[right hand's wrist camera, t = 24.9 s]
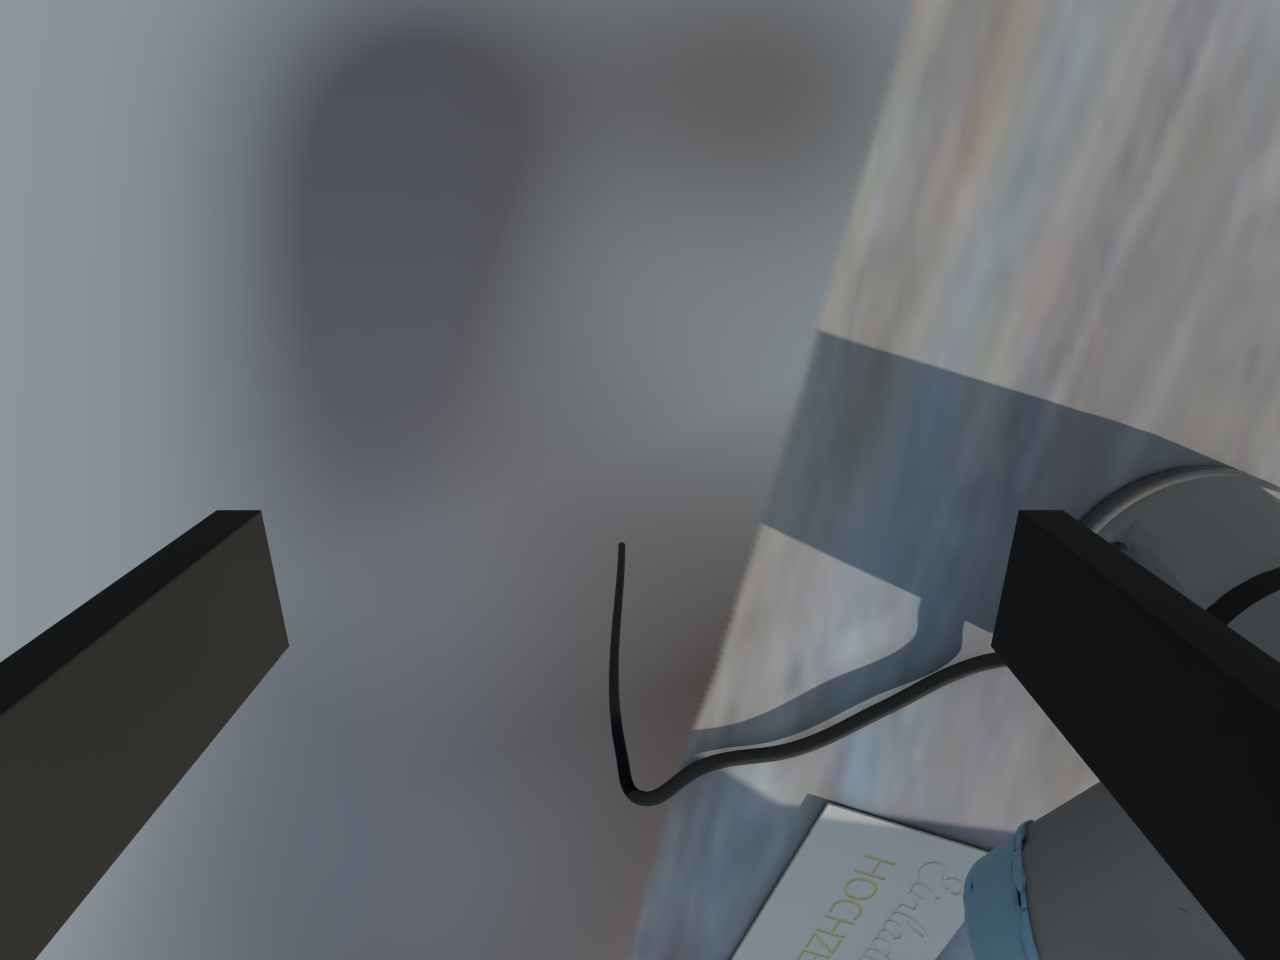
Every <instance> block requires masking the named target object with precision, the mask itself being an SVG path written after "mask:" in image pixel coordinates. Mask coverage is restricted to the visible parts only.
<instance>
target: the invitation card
mask: <svg viewBox="0 0 1280 960" xmlns="http://www.w3.org/2000/svg"><path fill="white" fill-rule="evenodd" d="M987 853H989V852H988V851H984V850H981V849H978V848H975V847H972V846H968V845H965V844H962V843H959V842H955V841H952V840H949V839H946V838H942V837H939V836H936V835H933V834H929V833H926V832H923V831H920V830H916V829H913V828H910V827H907V826H903V825H900V824H897V823H894V822H890V821H887V820H884V819H881V818H877V817H874V816H871V815H868V814H865V813H861V812H858V811H855V810H852V809H848V808H845V807H842V806H839V805H835V804H832V803H829V802H828V803H827V804H826V806H825V808H824V809H823V811H822V812H821V814H820V816H819V817H818V819H817V821H816V822H815V824H814V825H813V827H812V829H811V830H810V832H809V834H808V835H807V837H806V838H805V840H804V842H803V843H802V845H801V846H800V848H799V850H798V851H797V853H796V855H795V856H794V858H793V859H792V861H791V863H790V864H789V866H788V867H787V869H786V871H785V872H784V874H783V876H782V877H781V879H780V880H779V882H778V884H777V885H776V887H775V889H774V890H773V892H772V893H771V895H770V897H769V898H768V900H767V901H766V903H765V905H764V906H763V908H762V910H761V911H760V913H759V914H758V916H757V918H756V919H755V921H754V922H753V924H752V926H751V927H750V929H749V931H748V932H747V934H746V935H745V937H744V939H743V940H742V942H741V944H740V945H739V947H738V948H737V950H736V952H735V953H734V955H733V956H732V958H731V960H935V959H936V958H937V957H938V955H939V954H940V953H941V951H942V950H943V949H944V947H945V946H946V945H947V944H948V942H949V941H950V940H951V938H952V937H953V936H954V934H955V933H956V932H957V931H958V929H959V928H960V927H961V925H962V924H963V923H964V921H965V917H964V914H965V910H964V903H963V892H964V883H965V880H966V876H967V874H968V872H969V870H970V869H971V867H972V866H973V865H974V863H975V862H976V861H977V860H979V859H980V858H982V857H983V856H985V855H986V854H987Z"/></svg>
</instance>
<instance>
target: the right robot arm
mask: <svg viewBox="0 0 1280 960" xmlns="http://www.w3.org/2000/svg"><path fill="white" fill-rule="evenodd" d="M624 573H625V543H623V542H620V543H619V544H618V563H617V577H616V588H615V598H614V609H613V619H612V630H611V643H610V660H609V709H610V720H611V731H612V737H613V743H614V749H615V755H616V761H617V768H618V776H619V781H620V785H621V788H622V790H623V792H624V794H625V795H626V796H627V798H628V799H629V800H631V801H632V802H633V803H635V804H637V805H642V806H653V805H657V804H660V803H662V802H664V801H666V800H667V799H669V798H670V797H672V796H673V795H674V794H676V793H677V792H678V791H679V790H681V789H682V788H683V787H684V786H686V785H687V784H688V783H690V782H691V781H692V780H694V779H695V778H697V777H699V776H701V775H703V774H705V773H708V772H711V771H714V770H718V769H722V768H726V767H731V766H738V765H746V764H755V763H764V762H772V761H778V760H783V759H788V758H792V757H796V756H799V755H802V754H805V753H808V752H811V751H814V750H817V749H819V748H822V747H824V746H826V745H829V744H831V743H833V742H835V741H837V740H840V739H842V738H844V737H846V736H848V735H850V734H851V733H853V732H855V731H857V730H859V729H861V728H863V727H865V726H867V725H869V724H871V723H873V722H875V721H877V720H879V719H881V718H883V717H885V716H887V715H889V714H891V713H894V712H896V711H898V710H900V709H902V708H903V707H905V706H907V705H909V704H911V703H913V702H915V701H917V700H918V699H920V698H922V697H924V696H926V695H928V694H930V693H931V692H933V691H935V690H937V689H939V688H941V687H943V686H945V685H947V684H950V683H952V682H954V681H956V680H959V679H961V678H964V677H966V676H969V675H972V674H975V673H978V672H981V671H985V670H989V669H994V668H1000V667H1006V666H1008V668H1009V669H1010V670H1011V671H1012V673H1013V674H1014V675H1015V676H1016V678H1017V679H1018V680H1019V681H1020V683H1021V684H1022V685H1023V686H1024V687H1025V689H1026V690H1027V691H1028V692H1029V694H1030V695H1031V696H1032V697H1033V699H1034V700H1035V701H1036V702H1037V704H1038V705H1039V706H1040V707H1041V708H1042V710H1043V711H1044V712H1045V713H1046V715H1047V716H1048V717H1049V718H1050V720H1051V721H1052V722H1053V723H1054V724H1055V726H1056V727H1057V728H1058V729H1059V731H1060V732H1061V733H1062V734H1063V736H1064V737H1065V738H1066V739H1067V741H1068V742H1069V743H1070V744H1071V745H1072V747H1073V748H1074V749H1075V750H1076V752H1077V753H1078V754H1079V755H1080V757H1081V758H1082V759H1083V760H1084V762H1085V763H1086V764H1087V765H1088V766H1089V768H1090V769H1091V770H1092V771H1093V773H1094V774H1095V775H1096V776H1097V778H1098V779H1099V780H1100V782H1099V783H1097V784H1095V785H1094V786H1092V787H1090V788H1089V789H1087V790H1086V791H1084V792H1082V793H1081V794H1079V795H1077V796H1076V797H1074V798H1072V799H1071V800H1069V801H1068V802H1066V803H1064V804H1063V805H1061V806H1059V807H1058V808H1056V809H1054V810H1053V811H1051V812H1050V813H1048V814H1046V815H1045V816H1043V817H1041V818H1039V819H1038V820H1036V821H1033V820H1029V821H1026V822H1024V823H1023V824H1021V825H1020V826H1019V827H1018V829H1017V831H1016V833H1015V834H1014V835H1012V836H1011V837H1010V838H1008V839H1007V840H1005V841H1004V842H1003V843H1001V844H1000V845H998V846H997V847H996V848H994V849H993V850H991V851H990V852H989V853H987V854H986V855H985V856H983V857H982V858H980V859H979V860H977V861H976V862H975V863H974V865H973V866H972V867H971V869H970V870H969V872H968V874H967V876H966V880H965V883H964V892H963V903H964V910H965V914H964V917H965V923H966V928H967V933H968V937H969V940H970V944H971V948H972V951H973V954H974V958H975V960H1280V488H1279V487H1277V486H1276V485H1273V484H1271V483H1269V482H1266V481H1264V480H1262V479H1259V478H1257V477H1255V476H1252V475H1250V474H1247V473H1245V472H1242V471H1238V470H1235V469H1231V468H1225V467H1219V466H1191V467H1182V468H1177V469H1172V470H1167V471H1164V472H1160V473H1157V474H1154V475H1151V476H1149V477H1146V478H1143V479H1141V480H1139V481H1137V482H1134V483H1132V484H1130V485H1128V486H1127V487H1125V488H1123V489H1121V490H1119V491H1118V492H1116V493H1115V494H1113V495H1112V496H1110V497H1109V498H1107V499H1106V500H1104V501H1103V502H1102V503H1101V504H1099V505H1098V506H1097V507H1096V508H1094V509H1093V510H1092V511H1091V512H1090V513H1089V514H1088V515H1087V516H1086V517H1085V518H1084V519H1083V520H1082V521H1081V522H1079V521H1078V520H1076V519H1075V518H1073V517H1072V516H1070V515H1069V514H1068V513H1066V512H1065V511H1063V510H1019V513H1018V518H1017V522H1016V527H1015V532H1014V537H1013V542H1012V547H1011V551H1010V556H1009V561H1008V566H1007V571H1006V576H1005V580H1004V585H1003V590H1002V595H1001V600H1000V605H999V610H998V614H997V619H996V624H995V629H994V634H993V639H992V643H991V647H992V648H993V649H994V650H995V653H990V654H985V655H981V656H977V657H973V658H970V659H967V660H965V661H962V662H959V663H957V664H954V665H952V666H949V667H947V668H945V669H942V670H940V671H938V672H936V673H934V674H932V675H930V676H928V677H926V678H924V679H922V680H920V681H919V682H917V683H915V684H913V685H911V686H910V687H908V688H906V689H904V690H902V691H900V692H898V693H897V694H895V695H893V696H891V697H889V698H887V699H885V700H883V701H881V702H879V703H876V704H874V705H872V706H870V707H868V708H866V709H864V710H862V711H860V712H858V713H857V714H855V715H853V716H851V717H849V718H847V719H845V720H843V721H841V722H839V723H837V724H835V725H833V726H831V727H829V728H827V729H825V730H823V731H820V732H818V733H816V734H813V735H811V736H808V737H805V738H803V739H800V740H797V741H793V742H790V743H786V744H782V745H777V746H771V747H764V748H756V749H746V750H738V751H731V752H725V753H720V754H716V755H712V756H709V757H706V758H703V759H701V760H698V761H696V762H694V763H692V764H690V765H689V766H687V767H685V768H684V769H683V770H681V771H680V772H678V773H677V774H676V775H675V776H673V777H672V778H671V779H670V780H668V781H667V782H666V783H665V784H663V785H662V786H660V787H659V788H657V789H655V790H653V791H649V792H645V791H641V790H639V789H637V788H636V787H635V785H634V783H633V780H632V776H631V772H630V766H629V759H628V754H627V749H626V744H625V738H624V733H623V727H622V719H621V711H620V697H619V645H620V628H621V614H622V602H623V588H624ZM288 647H289V644H288V639H287V634H286V629H285V624H284V619H283V614H282V610H281V605H280V600H279V595H278V590H277V585H276V581H275V576H274V571H273V566H272V561H271V556H270V551H269V547H268V542H267V537H266V532H265V527H264V522H263V518H262V513H261V510H217V511H215V512H214V513H212V514H211V515H210V516H208V517H207V518H205V519H204V520H202V521H201V522H200V523H198V524H197V525H195V526H194V527H192V528H191V529H190V530H188V531H187V532H185V533H184V534H183V535H181V536H180V537H178V538H177V539H175V540H174V541H173V542H171V543H170V544H168V545H167V546H166V547H164V548H163V549H161V550H160V551H158V552H157V553H156V554H154V555H153V556H151V557H150V558H148V559H147V560H146V561H144V562H143V563H141V564H140V565H138V566H137V567H136V568H134V569H133V570H131V571H130V572H129V573H127V574H126V575H124V576H123V577H121V578H120V579H119V580H117V581H116V582H114V583H113V584H111V585H110V586H109V587H107V588H106V589H104V590H103V591H101V592H100V593H99V594H97V595H96V596H94V597H93V598H92V599H90V600H89V601H87V602H86V603H84V604H83V605H82V606H80V607H79V608H77V609H76V610H74V611H73V612H72V613H70V614H69V615H67V616H66V617H65V618H63V619H62V620H60V621H59V622H57V623H56V624H55V625H53V626H52V627H50V628H49V629H48V630H46V631H45V632H43V633H42V634H40V635H39V636H37V637H36V638H35V639H33V640H32V641H30V642H29V643H28V644H26V645H25V646H23V647H22V648H20V649H19V650H18V651H16V652H15V653H13V654H12V655H10V656H9V657H8V658H6V659H5V660H3V661H2V662H0V960H35V959H36V958H37V956H38V955H39V954H40V953H41V952H42V950H43V949H44V948H45V947H46V945H47V944H48V943H49V942H50V941H51V939H52V938H53V937H54V936H55V934H56V933H57V932H58V931H59V929H60V928H61V927H62V926H63V924H64V923H65V922H66V921H67V919H68V918H69V917H70V916H71V915H72V913H73V912H74V911H75V910H76V908H77V907H78V906H79V905H80V903H81V902H82V901H83V900H84V899H85V897H86V896H87V895H88V894H89V892H90V891H91V890H92V889H93V887H94V886H95V885H96V884H97V882H98V881H99V880H100V879H101V878H102V876H103V875H104V874H105V873H106V871H107V870H108V869H109V868H110V866H111V865H112V864H113V863H114V861H115V860H116V859H117V858H118V857H119V855H120V854H121V853H122V852H123V850H124V849H125V848H126V847H127V845H128V844H129V843H130V842H131V841H132V839H133V838H134V837H135V836H136V834H137V833H138V832H139V831H140V829H141V828H142V827H143V826H144V824H145V823H146V822H147V821H148V819H149V818H150V817H151V816H152V815H153V813H154V812H155V811H156V810H157V808H158V807H159V806H160V805H161V803H162V802H163V801H164V800H165V798H166V797H167V796H168V795H169V794H170V792H171V791H172V790H173V789H174V787H175V786H176V785H177V784H178V782H179V781H180V780H181V779H182V777H183V776H184V775H185V774H186V773H187V771H188V770H189V769H190V768H191V766H192V765H193V764H194V763H195V762H196V760H197V759H198V758H199V757H200V755H201V754H202V753H203V752H204V750H205V749H206V748H207V747H208V745H209V744H210V743H211V742H212V741H213V739H214V738H215V737H216V736H217V734H218V733H219V732H220V731H221V729H222V728H223V727H224V726H225V724H226V723H227V722H228V721H229V720H230V718H231V717H232V716H233V715H234V713H235V712H236V711H237V710H238V708H239V707H240V706H241V705H242V703H243V702H244V701H245V700H246V699H247V697H248V696H249V695H250V694H251V692H252V691H253V690H254V689H255V687H256V686H257V685H258V684H259V683H260V681H261V680H262V679H263V678H264V676H265V675H266V674H267V673H268V671H269V670H270V669H271V668H272V666H273V665H274V664H275V663H276V662H277V660H278V659H279V658H280V657H281V655H282V654H283V653H284V652H285V650H286V649H287V648H288Z"/></svg>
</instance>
